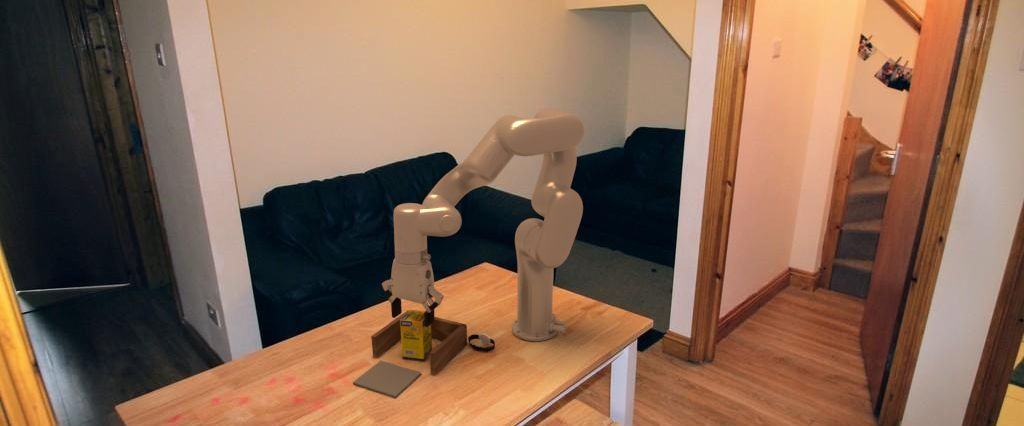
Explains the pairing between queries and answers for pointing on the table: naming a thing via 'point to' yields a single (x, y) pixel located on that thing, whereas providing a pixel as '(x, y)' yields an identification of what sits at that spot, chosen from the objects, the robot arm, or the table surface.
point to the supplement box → (415, 336)
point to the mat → (387, 379)
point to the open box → (441, 330)
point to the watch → (484, 339)
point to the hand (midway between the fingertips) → (412, 320)
